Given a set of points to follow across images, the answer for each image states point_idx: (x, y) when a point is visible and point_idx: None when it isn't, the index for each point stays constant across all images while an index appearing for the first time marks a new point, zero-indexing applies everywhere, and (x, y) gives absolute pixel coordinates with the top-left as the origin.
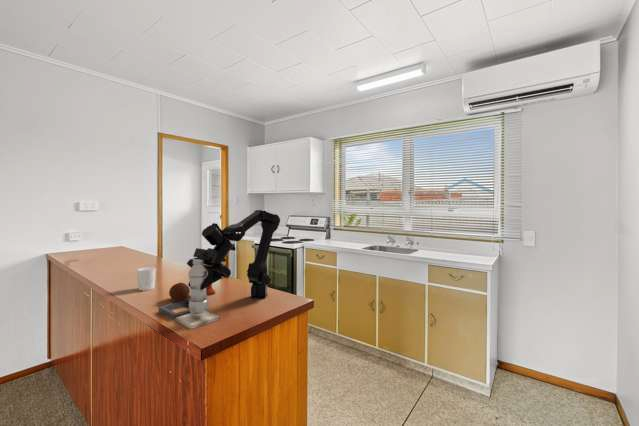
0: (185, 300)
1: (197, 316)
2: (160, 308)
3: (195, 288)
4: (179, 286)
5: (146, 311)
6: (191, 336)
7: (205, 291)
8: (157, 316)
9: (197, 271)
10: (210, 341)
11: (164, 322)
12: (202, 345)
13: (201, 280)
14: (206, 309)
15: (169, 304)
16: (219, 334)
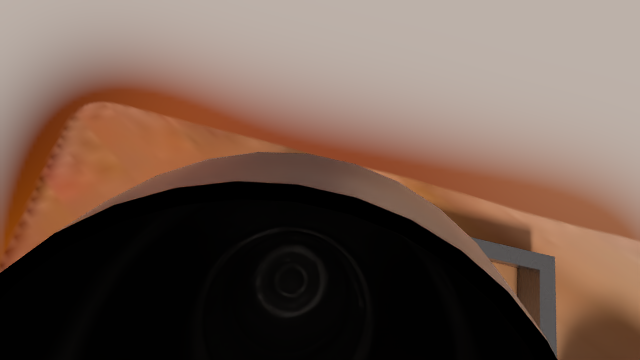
0: None
1: None
2: (533, 252)
3: (251, 233)
4: None
5: (578, 234)
6: (189, 141)
7: (215, 333)
8: (483, 217)
9: (80, 223)
10: (87, 140)
11: None
12: (96, 106)
13: (145, 283)
14: (238, 299)
15: (552, 312)
16: (89, 202)
